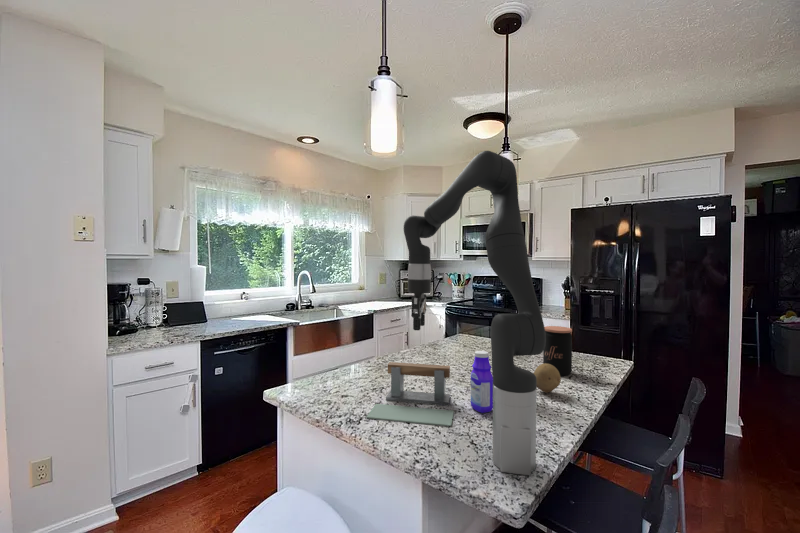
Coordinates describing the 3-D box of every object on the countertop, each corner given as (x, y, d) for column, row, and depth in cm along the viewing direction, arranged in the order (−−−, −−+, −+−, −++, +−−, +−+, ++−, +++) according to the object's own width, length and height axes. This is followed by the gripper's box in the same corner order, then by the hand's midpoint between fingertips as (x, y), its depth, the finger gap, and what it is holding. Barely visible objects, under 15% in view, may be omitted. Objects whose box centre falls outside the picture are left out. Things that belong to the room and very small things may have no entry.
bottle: (466, 406, 115) (467, 350, 114) (482, 403, 117) (483, 348, 116) (480, 415, 108) (480, 355, 108) (496, 412, 110) (497, 354, 110)
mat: (451, 426, 100) (451, 425, 100) (366, 418, 105) (366, 416, 105) (453, 412, 110) (453, 410, 110) (376, 404, 115) (376, 403, 115)
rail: (449, 378, 117) (449, 368, 117) (387, 373, 121) (387, 364, 121) (449, 375, 120) (449, 365, 120) (389, 370, 124) (389, 361, 124)
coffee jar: (537, 370, 152) (537, 327, 152) (556, 367, 157) (556, 325, 157) (558, 378, 143) (558, 331, 142) (577, 374, 147) (578, 329, 147)
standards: (448, 405, 115) (448, 372, 115) (385, 400, 119) (386, 367, 119) (450, 397, 122) (450, 366, 122) (391, 392, 126) (391, 362, 126)
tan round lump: (564, 398, 122) (565, 368, 122) (537, 397, 122) (537, 367, 122) (555, 388, 131) (555, 360, 131) (529, 388, 131) (529, 360, 131)
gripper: (427, 279, 112) (427, 332, 112) (433, 277, 126) (433, 324, 126) (403, 278, 114) (403, 331, 114) (412, 276, 128) (411, 323, 128)
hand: (419, 327), depth 120 cm, fingers open, 8 cm apart
